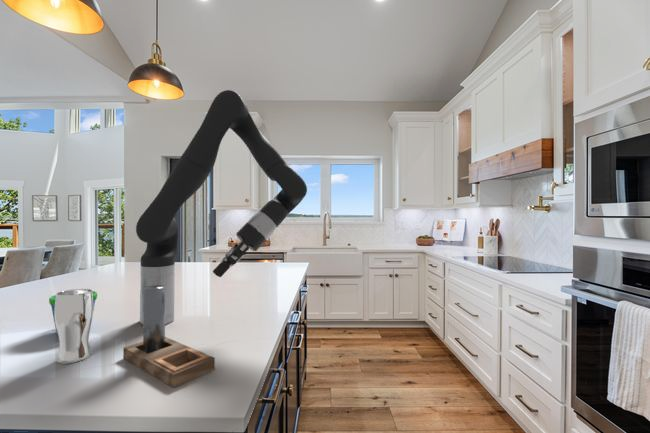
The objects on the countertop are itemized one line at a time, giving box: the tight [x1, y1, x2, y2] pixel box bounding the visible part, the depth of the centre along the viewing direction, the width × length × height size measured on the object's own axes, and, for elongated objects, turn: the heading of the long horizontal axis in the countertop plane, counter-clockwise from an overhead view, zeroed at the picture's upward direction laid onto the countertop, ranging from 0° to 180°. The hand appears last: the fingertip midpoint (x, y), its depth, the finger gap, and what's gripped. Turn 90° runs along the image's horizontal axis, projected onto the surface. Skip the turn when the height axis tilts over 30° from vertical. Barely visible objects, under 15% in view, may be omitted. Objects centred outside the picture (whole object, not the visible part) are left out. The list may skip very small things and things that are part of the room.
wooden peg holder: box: [122, 336, 216, 388], centre depth 71 cm, size 21×9×3 cm, turn 54°
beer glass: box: [54, 288, 94, 365], centre depth 74 cm, size 7×7×15 cm
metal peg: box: [142, 285, 166, 354], centre depth 75 cm, size 4×4×16 cm
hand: (215, 274), depth 88 cm, fingers open, 8 cm apart
